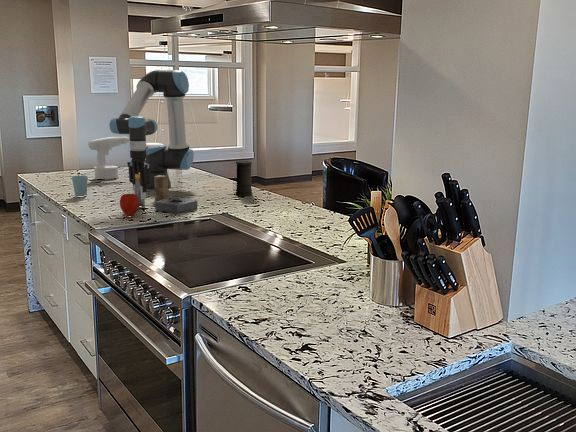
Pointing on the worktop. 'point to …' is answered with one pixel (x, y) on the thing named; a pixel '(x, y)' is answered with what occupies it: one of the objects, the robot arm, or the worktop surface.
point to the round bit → (139, 189)
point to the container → (244, 178)
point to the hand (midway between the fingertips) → (140, 198)
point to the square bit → (161, 187)
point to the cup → (80, 185)
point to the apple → (129, 204)
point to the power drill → (102, 150)
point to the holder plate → (176, 205)
